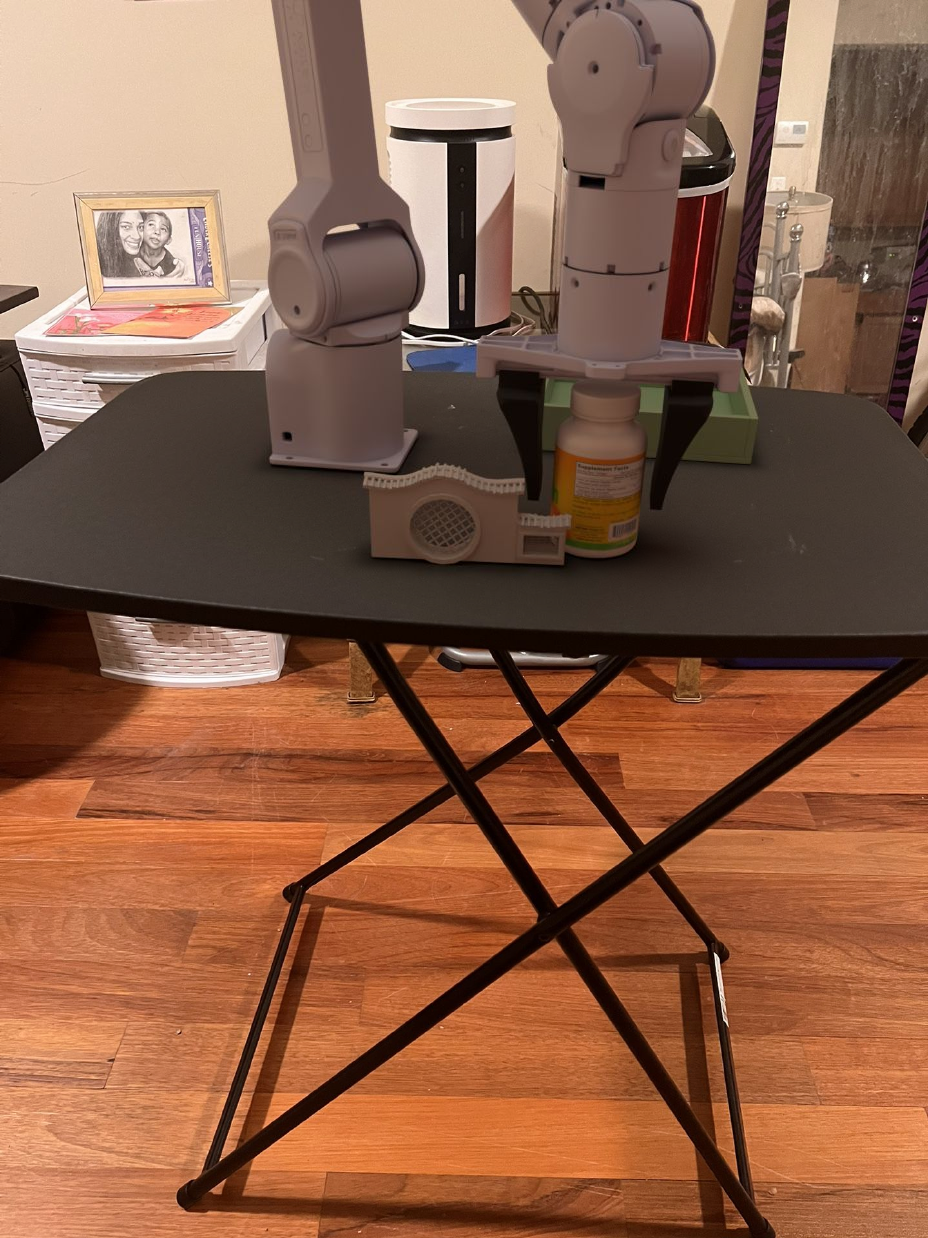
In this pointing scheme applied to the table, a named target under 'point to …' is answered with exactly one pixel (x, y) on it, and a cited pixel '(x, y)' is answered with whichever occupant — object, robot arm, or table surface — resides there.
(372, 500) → the garden wall model
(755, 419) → the basket
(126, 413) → the table surface
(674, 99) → the robot arm
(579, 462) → the supplement bottle
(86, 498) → the table surface
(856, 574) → the table surface
